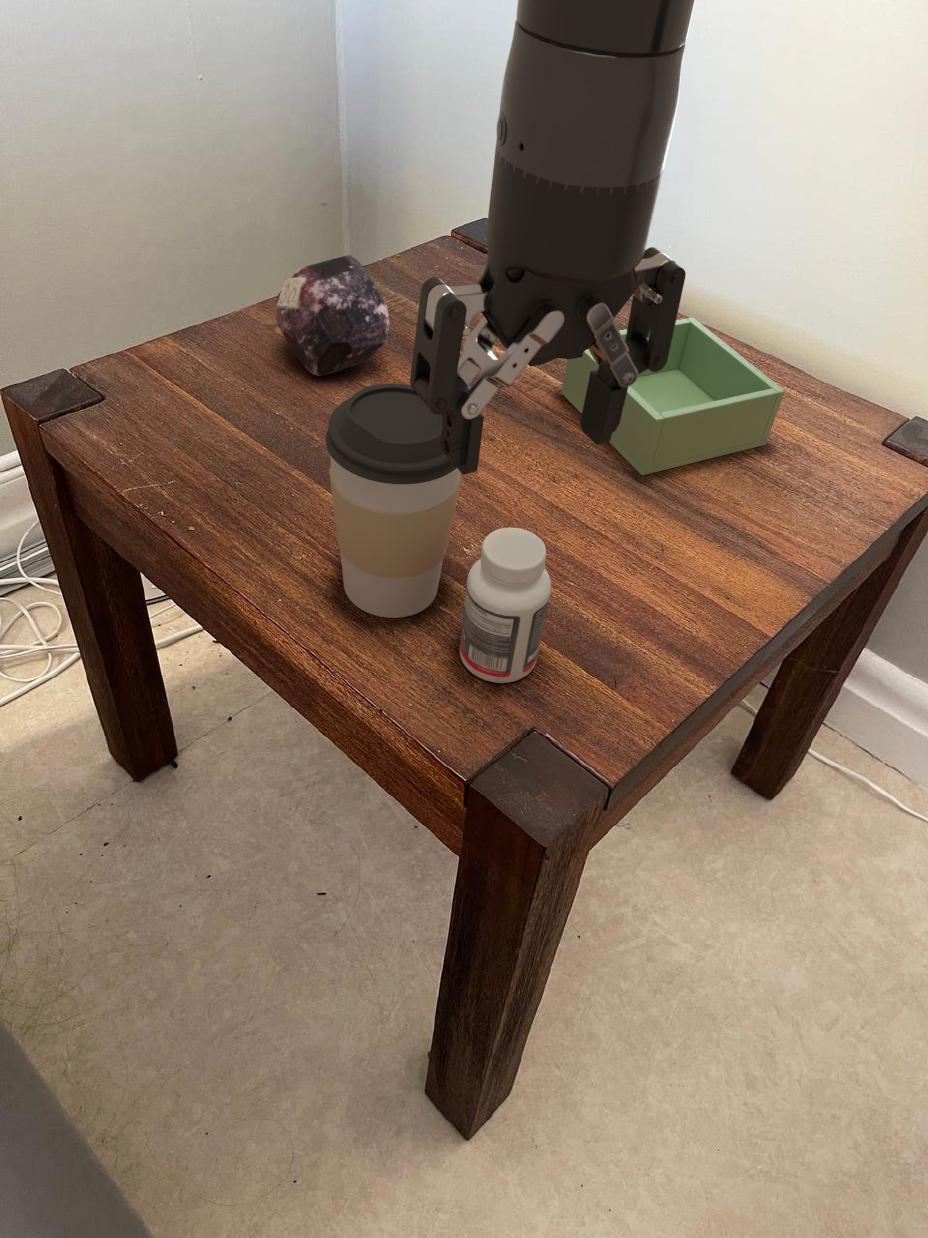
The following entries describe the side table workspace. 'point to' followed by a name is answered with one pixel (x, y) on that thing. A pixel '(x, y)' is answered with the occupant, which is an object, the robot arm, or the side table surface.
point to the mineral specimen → (332, 315)
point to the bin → (687, 403)
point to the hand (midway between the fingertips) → (530, 450)
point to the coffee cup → (390, 498)
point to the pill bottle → (505, 606)
